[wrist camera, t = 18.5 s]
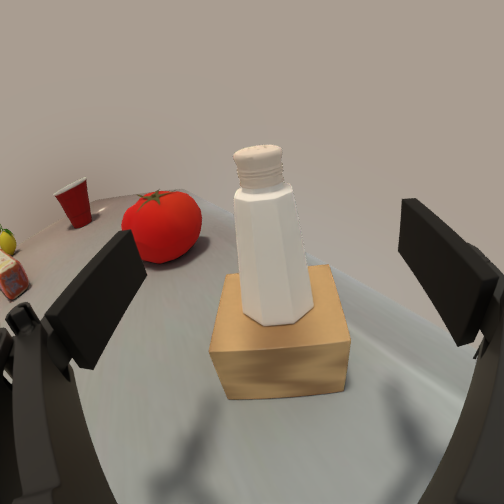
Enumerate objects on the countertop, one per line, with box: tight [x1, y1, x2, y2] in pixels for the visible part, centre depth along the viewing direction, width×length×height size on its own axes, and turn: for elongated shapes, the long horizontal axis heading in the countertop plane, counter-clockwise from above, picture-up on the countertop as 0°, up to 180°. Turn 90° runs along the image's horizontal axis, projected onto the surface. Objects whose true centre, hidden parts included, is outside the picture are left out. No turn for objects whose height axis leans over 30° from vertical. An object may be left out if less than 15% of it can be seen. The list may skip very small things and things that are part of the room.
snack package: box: [0, 249, 28, 299], centre depth 43 cm, size 21×7×7 cm, turn 62°
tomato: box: [121, 190, 202, 264], centre depth 42 cm, size 11×13×10 cm
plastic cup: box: [53, 177, 92, 228], centre depth 66 cm, size 11×11×12 cm
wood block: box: [209, 264, 351, 399], centre depth 22 cm, size 9×9×6 cm
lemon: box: [0, 226, 16, 255], centre depth 58 cm, size 7×6×10 cm
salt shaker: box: [233, 145, 314, 326], centre depth 18 cm, size 5×5×11 cm
